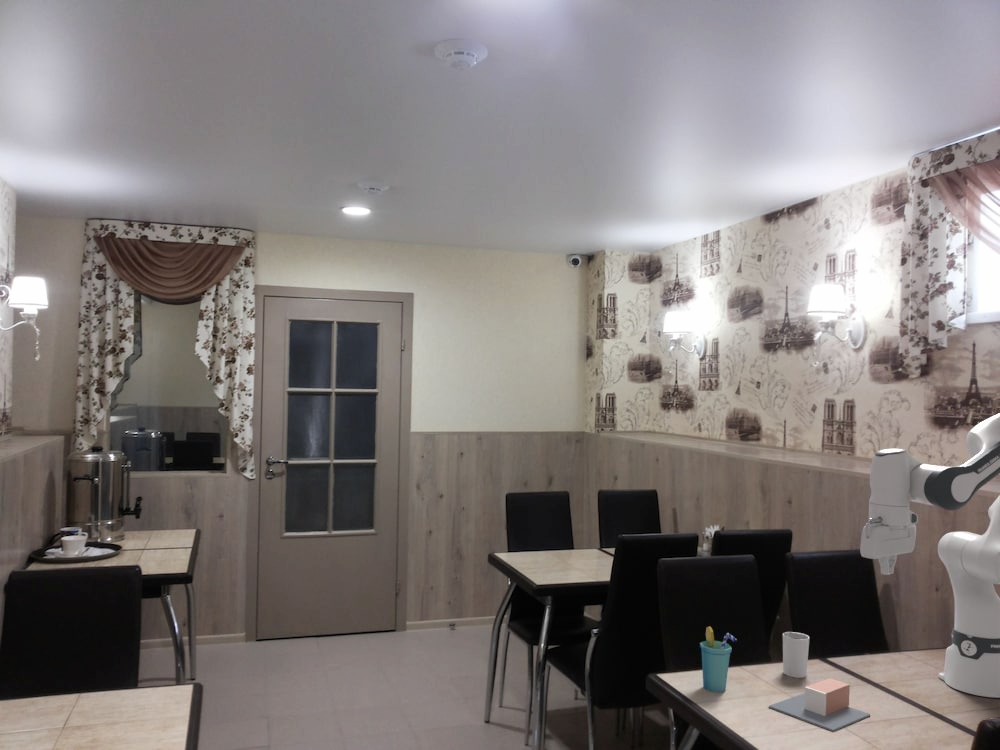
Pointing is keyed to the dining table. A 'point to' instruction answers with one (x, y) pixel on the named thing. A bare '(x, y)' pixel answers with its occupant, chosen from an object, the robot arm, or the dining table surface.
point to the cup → (715, 661)
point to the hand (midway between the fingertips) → (887, 573)
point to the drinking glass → (795, 654)
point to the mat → (828, 722)
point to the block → (826, 696)
